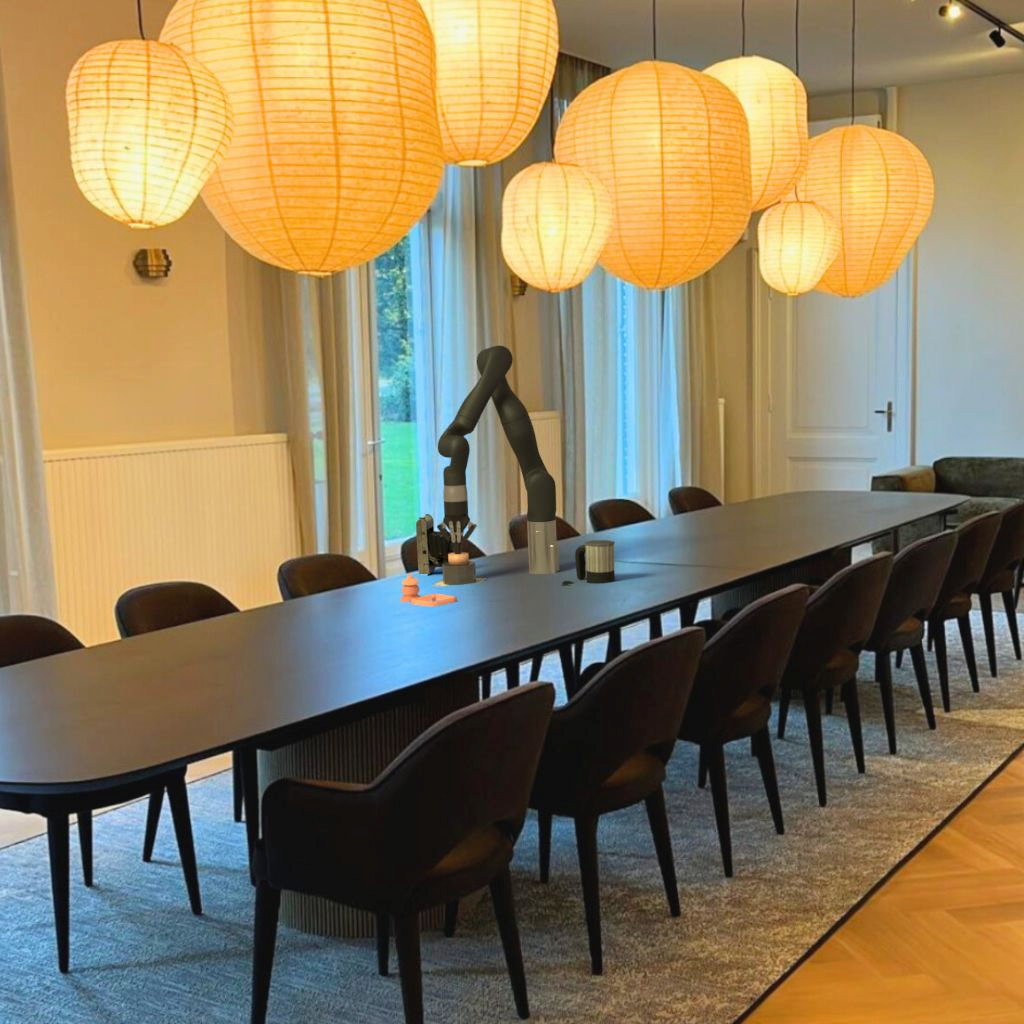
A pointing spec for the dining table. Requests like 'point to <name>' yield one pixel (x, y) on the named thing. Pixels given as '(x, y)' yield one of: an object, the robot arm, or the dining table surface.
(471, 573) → the squat olive cylinder
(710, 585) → the dining table surface
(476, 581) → the birch board
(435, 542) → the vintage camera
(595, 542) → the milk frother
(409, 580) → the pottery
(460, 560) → the tan mushroom shaped knob
